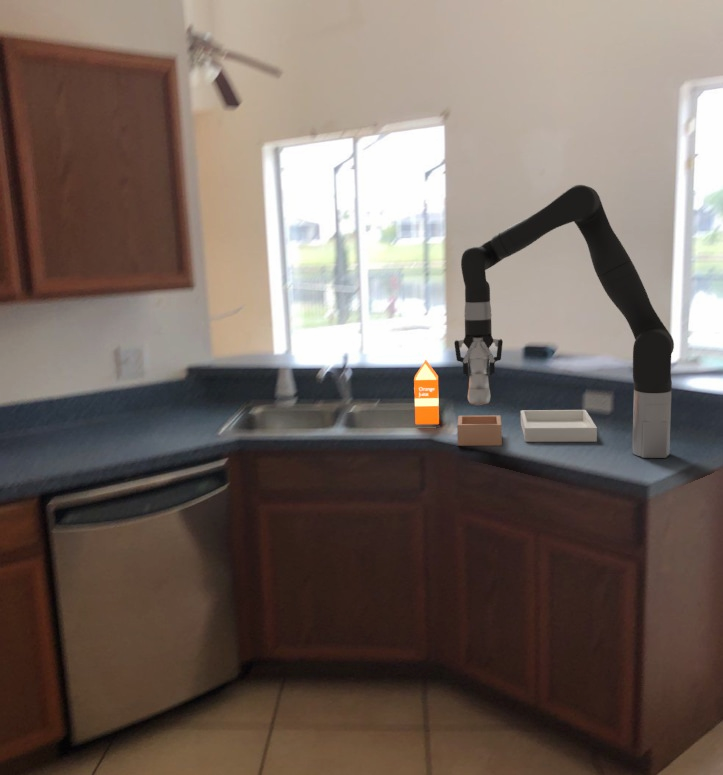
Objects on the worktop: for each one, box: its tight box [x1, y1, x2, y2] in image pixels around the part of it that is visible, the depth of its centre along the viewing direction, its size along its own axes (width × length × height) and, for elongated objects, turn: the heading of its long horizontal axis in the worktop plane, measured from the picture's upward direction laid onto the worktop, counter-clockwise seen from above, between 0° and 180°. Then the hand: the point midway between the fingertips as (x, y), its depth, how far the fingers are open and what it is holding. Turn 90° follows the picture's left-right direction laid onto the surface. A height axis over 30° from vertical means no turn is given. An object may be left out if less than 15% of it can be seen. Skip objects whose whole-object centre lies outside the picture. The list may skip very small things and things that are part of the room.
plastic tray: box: [520, 409, 598, 443], centre depth 232 cm, size 24×20×4 cm
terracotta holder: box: [456, 414, 503, 446], centre depth 225 cm, size 12×12×6 cm
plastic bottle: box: [467, 337, 492, 406], centre depth 222 cm, size 6×7×20 cm
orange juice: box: [413, 359, 440, 425], centre depth 251 cm, size 8×9×20 cm
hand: (479, 375), depth 222 cm, fingers closed on plastic bottle, 6 cm apart
